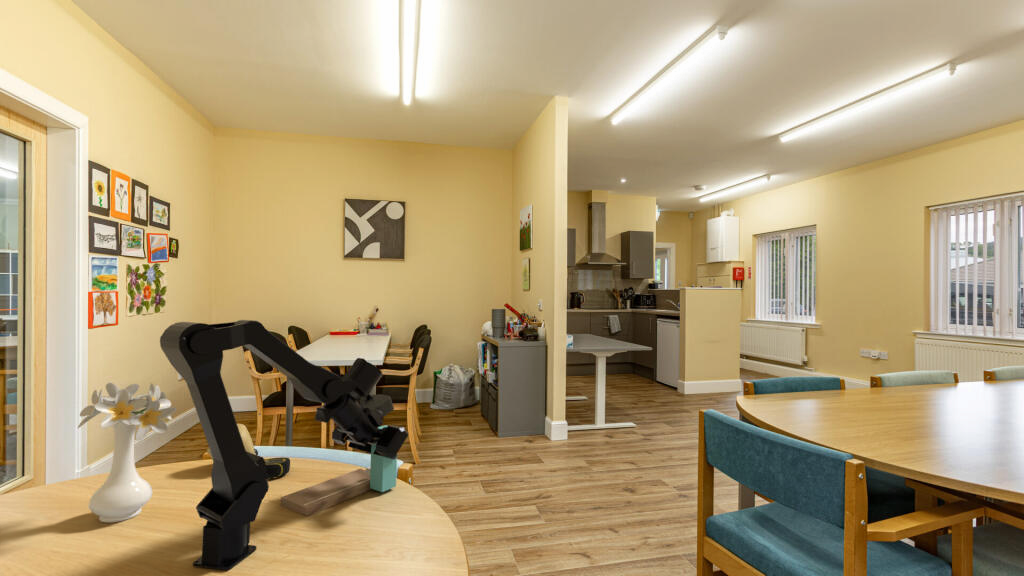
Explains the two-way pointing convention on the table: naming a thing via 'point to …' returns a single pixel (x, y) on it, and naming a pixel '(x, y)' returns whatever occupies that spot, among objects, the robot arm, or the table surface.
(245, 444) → the toy pig
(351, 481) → the board
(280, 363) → the robot arm
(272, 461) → the tape measure
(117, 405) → the flower vase
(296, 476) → the table surface
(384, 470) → the teal rectangular block
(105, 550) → the table surface
